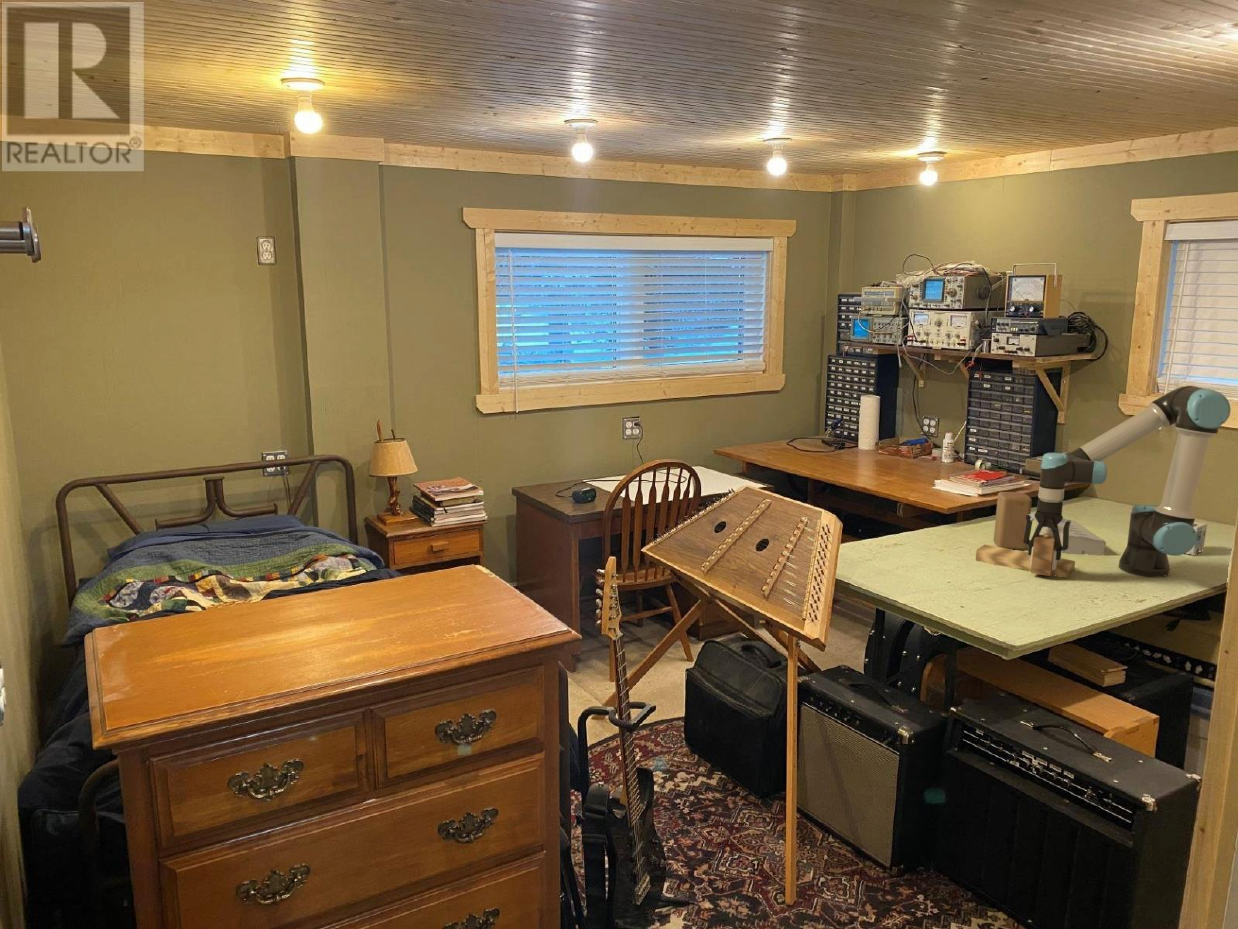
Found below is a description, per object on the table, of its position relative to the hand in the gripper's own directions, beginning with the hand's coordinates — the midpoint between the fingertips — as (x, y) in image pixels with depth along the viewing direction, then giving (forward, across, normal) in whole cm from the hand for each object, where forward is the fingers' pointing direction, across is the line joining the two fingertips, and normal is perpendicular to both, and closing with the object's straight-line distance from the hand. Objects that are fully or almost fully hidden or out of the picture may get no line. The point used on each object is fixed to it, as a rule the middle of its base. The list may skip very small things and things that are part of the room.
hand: (1043, 566), depth 294 cm
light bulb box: (+4, -34, -69) cm, 77 cm away
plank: (+3, +8, -8) cm, 12 cm away
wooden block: (+4, +19, -31) cm, 36 cm away
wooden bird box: (+2, 0, -4) cm, 5 cm away
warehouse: (+4, +3, -51) cm, 51 cm away
